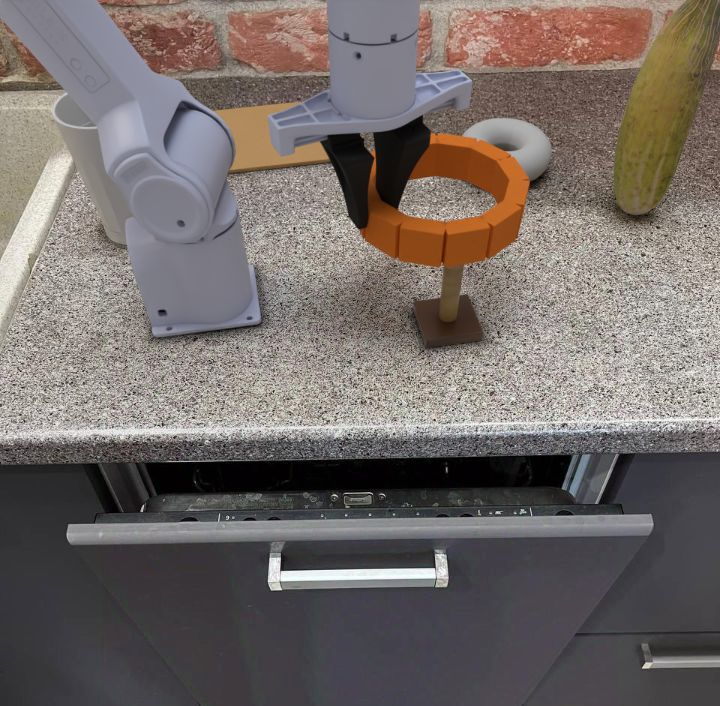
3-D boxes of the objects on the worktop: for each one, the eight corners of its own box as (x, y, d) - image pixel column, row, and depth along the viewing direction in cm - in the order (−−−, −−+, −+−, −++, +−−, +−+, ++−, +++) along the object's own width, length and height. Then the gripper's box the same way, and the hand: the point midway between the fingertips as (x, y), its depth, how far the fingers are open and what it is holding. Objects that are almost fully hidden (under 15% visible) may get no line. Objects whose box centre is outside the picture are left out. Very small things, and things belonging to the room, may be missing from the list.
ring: (444, 291, 51) (447, 257, 49) (321, 213, 57) (319, 180, 54) (554, 213, 56) (563, 179, 54) (432, 149, 62) (434, 116, 60)
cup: (80, 236, 68) (31, 115, 59) (130, 194, 72) (93, 74, 63) (144, 259, 66) (104, 137, 56) (192, 215, 70) (163, 93, 60)
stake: (425, 348, 59) (431, 287, 54) (412, 309, 62) (416, 248, 56) (482, 340, 59) (493, 279, 54) (466, 302, 62) (475, 240, 57)
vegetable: (613, 233, 68) (690, 0, 51) (584, 197, 71) (647, -31, 55) (668, 221, 69) (761, -10, 52) (636, 187, 72) (714, -41, 56)
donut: (450, 189, 73) (546, 197, 71) (452, 157, 70) (553, 165, 68) (461, 139, 78) (550, 145, 77) (464, 108, 75) (557, 114, 74)
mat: (217, 174, 74) (216, 171, 74) (210, 114, 82) (210, 110, 81) (335, 161, 76) (335, 158, 75) (318, 102, 83) (318, 99, 82)
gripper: (443, -20, 47) (429, 168, 58) (241, 22, 43) (267, 213, 54) (498, 21, 43) (471, 214, 54) (282, 70, 40) (301, 265, 51)
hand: (372, 217), depth 54 cm, fingers closed on ring, 2 cm apart
